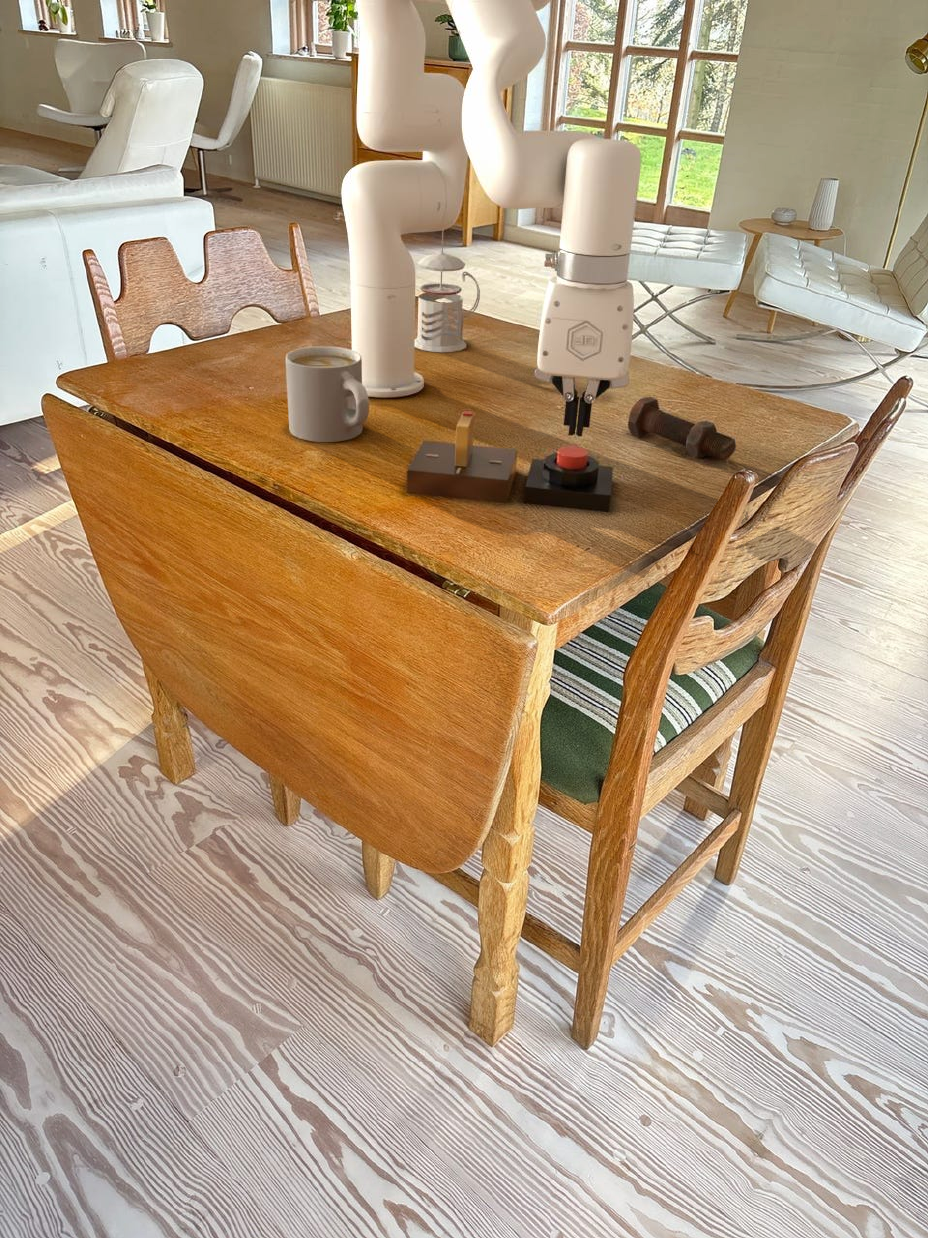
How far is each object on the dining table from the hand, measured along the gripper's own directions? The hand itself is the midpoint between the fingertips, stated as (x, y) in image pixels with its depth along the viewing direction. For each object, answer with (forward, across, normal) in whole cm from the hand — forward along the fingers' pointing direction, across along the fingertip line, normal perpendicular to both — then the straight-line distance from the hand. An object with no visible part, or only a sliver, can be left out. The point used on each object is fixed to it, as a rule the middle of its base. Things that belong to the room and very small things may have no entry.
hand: (575, 431), depth 112 cm
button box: (+8, 0, 0) cm, 8 cm away
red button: (+4, 0, 0) cm, 4 cm away
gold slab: (+5, -13, 0) cm, 14 cm away
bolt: (+8, +14, +19) cm, 25 cm away
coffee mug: (+8, -33, +12) cm, 36 cm away
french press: (+8, -26, +60) cm, 66 cm away
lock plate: (+8, -13, 0) cm, 15 cm away
